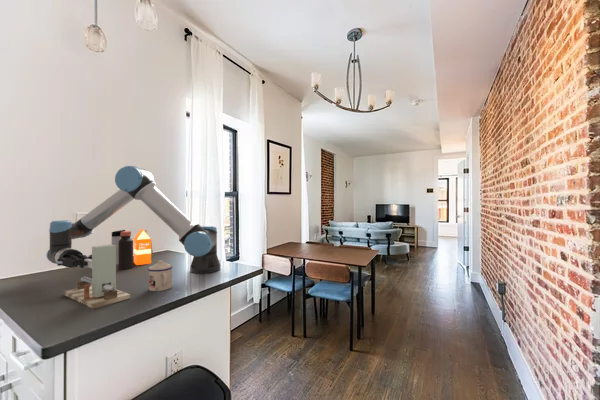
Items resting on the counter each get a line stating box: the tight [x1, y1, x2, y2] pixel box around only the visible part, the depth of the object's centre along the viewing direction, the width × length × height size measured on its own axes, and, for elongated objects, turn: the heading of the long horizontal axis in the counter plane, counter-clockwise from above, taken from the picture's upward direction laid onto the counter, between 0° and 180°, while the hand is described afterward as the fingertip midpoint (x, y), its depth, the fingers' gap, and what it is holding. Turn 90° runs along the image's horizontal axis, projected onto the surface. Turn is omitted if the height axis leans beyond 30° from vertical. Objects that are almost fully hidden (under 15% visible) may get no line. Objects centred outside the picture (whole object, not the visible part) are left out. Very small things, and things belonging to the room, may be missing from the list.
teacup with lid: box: [147, 259, 173, 292], centre depth 116 cm, size 12×9×12 cm
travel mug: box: [111, 229, 126, 267], centre depth 161 cm, size 6×7×20 cm
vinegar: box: [118, 230, 134, 271], centre depth 152 cm, size 7×7×20 cm
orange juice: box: [133, 228, 152, 266], centre depth 165 cm, size 8×9×20 cm
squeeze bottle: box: [144, 229, 154, 257], centre depth 178 cm, size 8×8×18 cm
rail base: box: [63, 281, 131, 309], centre depth 107 cm, size 26×12×6 cm, turn 57°
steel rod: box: [80, 275, 114, 292], centre depth 107 cm, size 24×2×2 cm, turn 57°
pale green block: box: [91, 244, 117, 297], centre depth 104 cm, size 4×6×18 cm, turn 147°
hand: (93, 264), depth 108 cm, fingers closed
